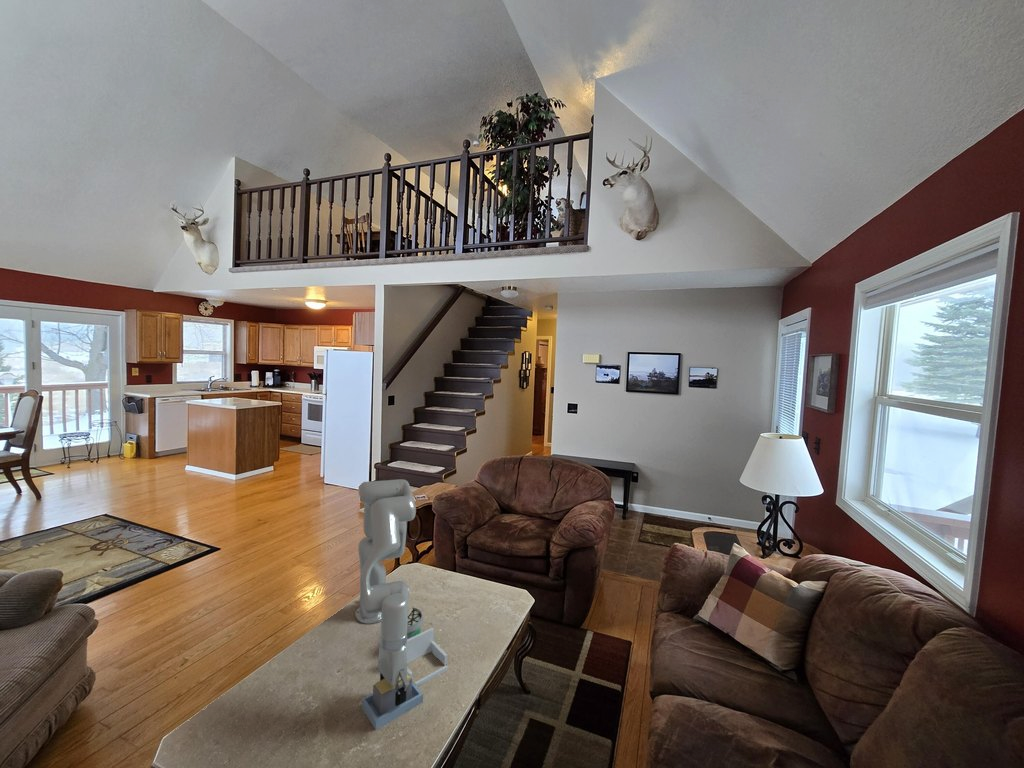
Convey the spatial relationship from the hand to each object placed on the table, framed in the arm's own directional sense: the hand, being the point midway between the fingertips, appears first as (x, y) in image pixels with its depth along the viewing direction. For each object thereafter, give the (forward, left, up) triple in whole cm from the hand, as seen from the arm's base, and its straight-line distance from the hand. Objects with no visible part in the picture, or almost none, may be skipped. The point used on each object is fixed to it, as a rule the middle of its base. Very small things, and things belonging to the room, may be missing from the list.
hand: (392, 692), depth 129 cm
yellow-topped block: (0, 0, -3) cm, 3 cm away
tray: (0, 0, -4) cm, 4 cm away
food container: (-19, +18, -4) cm, 26 cm away
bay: (-7, +15, -4) cm, 17 cm away
